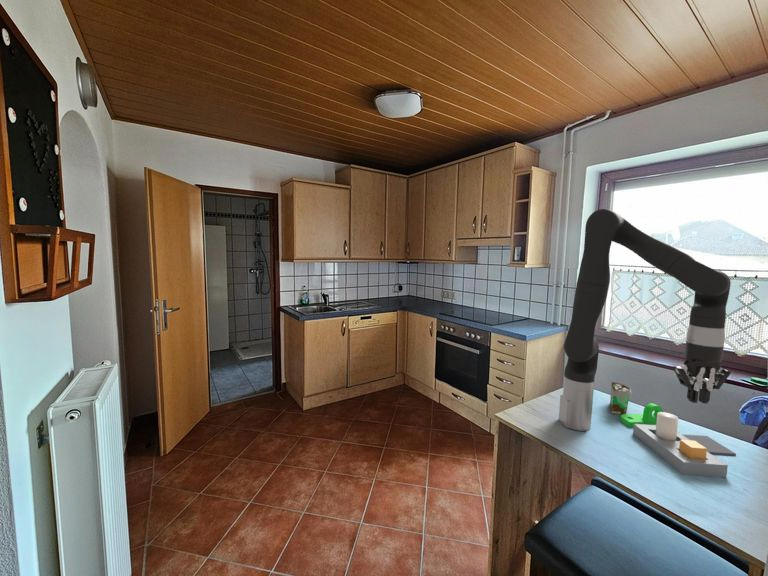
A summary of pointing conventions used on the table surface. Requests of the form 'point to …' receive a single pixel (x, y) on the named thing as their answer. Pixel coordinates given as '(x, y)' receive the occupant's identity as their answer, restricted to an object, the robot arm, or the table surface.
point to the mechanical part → (642, 416)
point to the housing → (679, 454)
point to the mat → (710, 445)
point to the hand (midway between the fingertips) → (697, 401)
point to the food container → (619, 398)
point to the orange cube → (692, 449)
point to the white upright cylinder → (666, 426)
